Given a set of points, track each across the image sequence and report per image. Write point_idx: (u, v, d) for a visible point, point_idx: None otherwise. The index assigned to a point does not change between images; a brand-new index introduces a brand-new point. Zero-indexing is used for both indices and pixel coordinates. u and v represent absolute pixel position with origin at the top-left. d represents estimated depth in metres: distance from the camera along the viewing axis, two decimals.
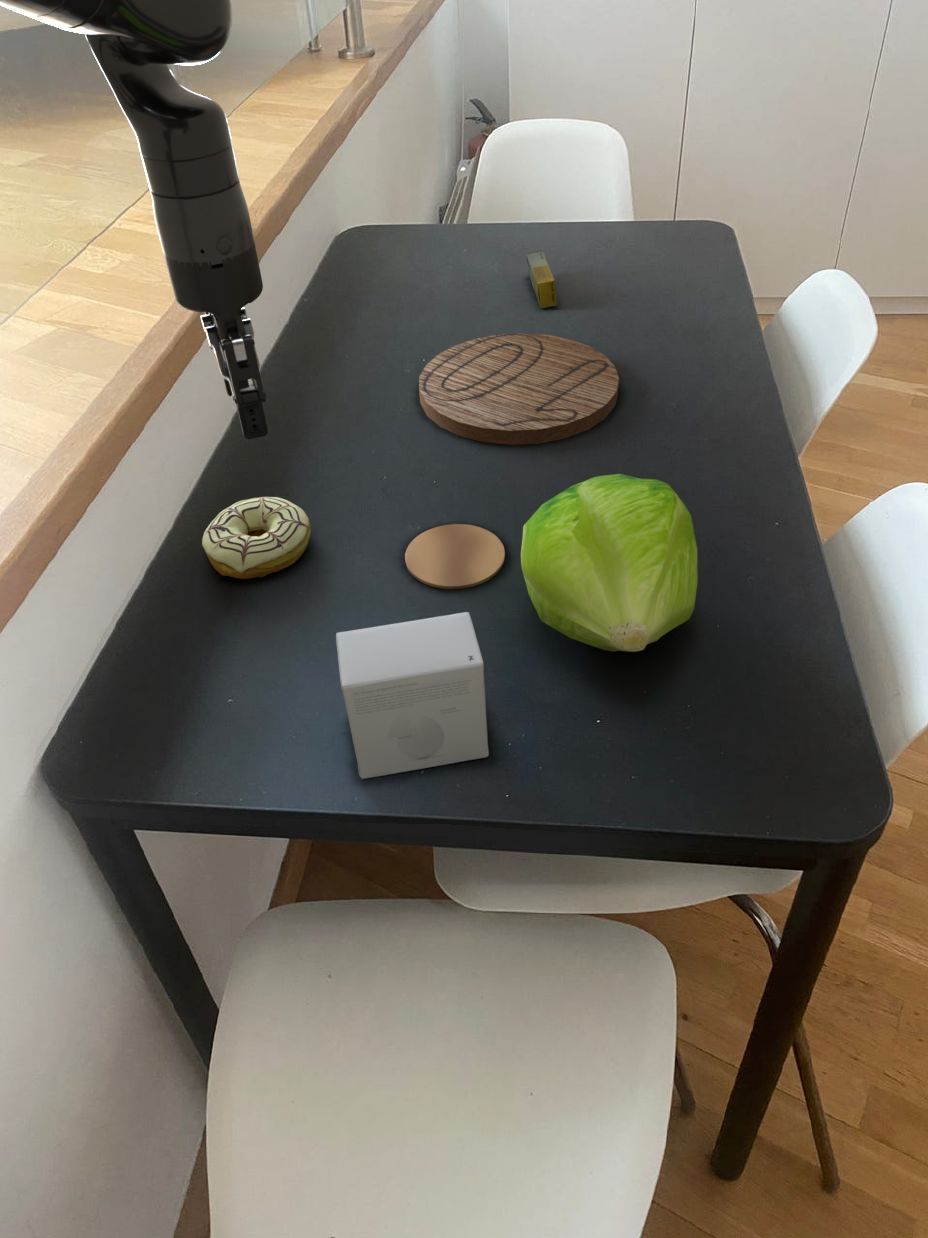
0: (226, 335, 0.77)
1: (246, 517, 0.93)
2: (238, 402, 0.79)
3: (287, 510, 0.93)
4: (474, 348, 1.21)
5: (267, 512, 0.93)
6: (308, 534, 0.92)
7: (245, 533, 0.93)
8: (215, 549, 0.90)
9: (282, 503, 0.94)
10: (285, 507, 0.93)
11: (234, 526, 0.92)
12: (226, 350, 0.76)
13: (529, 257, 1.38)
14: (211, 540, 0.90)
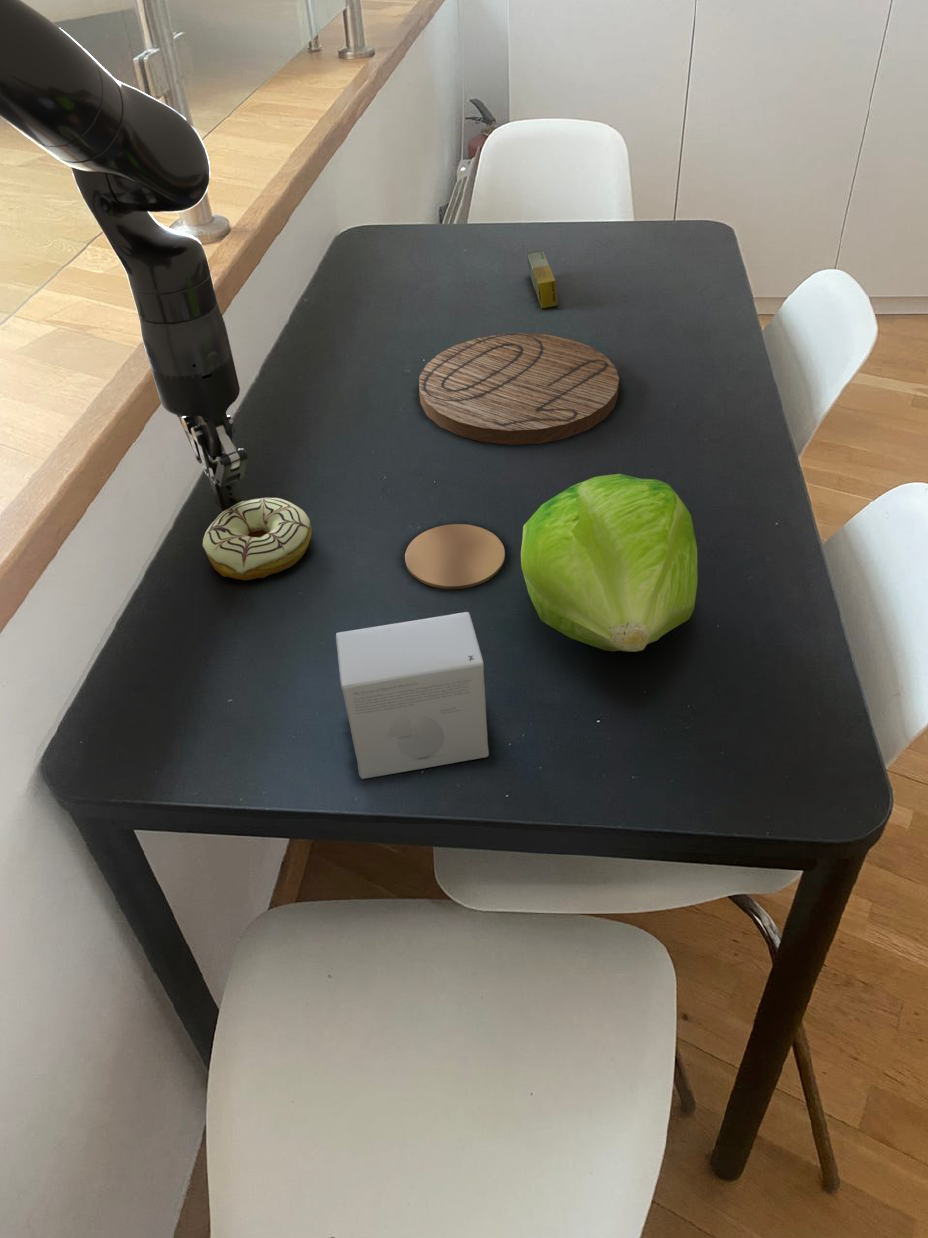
0: (218, 441, 0.87)
1: (246, 518, 0.93)
2: (221, 486, 0.92)
3: (288, 511, 0.93)
4: (474, 348, 1.21)
5: (267, 513, 0.93)
6: (309, 535, 0.92)
7: (246, 534, 0.92)
8: (216, 550, 0.89)
9: (283, 504, 0.94)
10: (286, 507, 0.93)
11: (235, 527, 0.92)
12: (225, 467, 0.87)
13: (530, 257, 1.38)
14: (212, 541, 0.90)
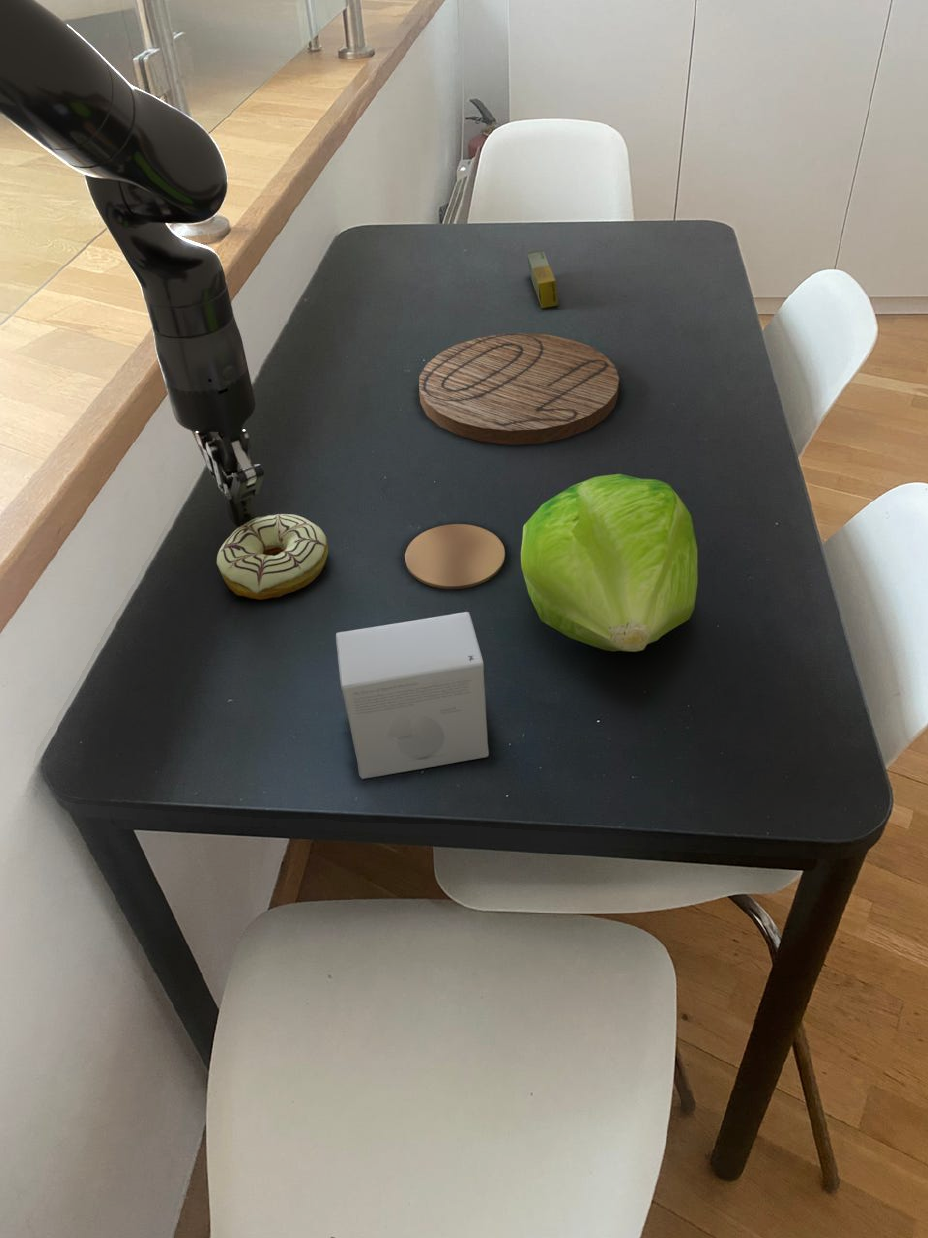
0: (233, 457, 0.85)
1: (261, 535, 0.91)
2: (236, 502, 0.89)
3: (304, 528, 0.90)
4: (474, 348, 1.21)
5: (283, 530, 0.91)
6: (325, 553, 0.90)
7: (261, 552, 0.90)
8: (230, 569, 0.87)
9: (299, 521, 0.92)
10: (302, 525, 0.91)
11: (249, 545, 0.90)
12: (241, 484, 0.85)
13: (530, 257, 1.38)
14: (226, 559, 0.88)
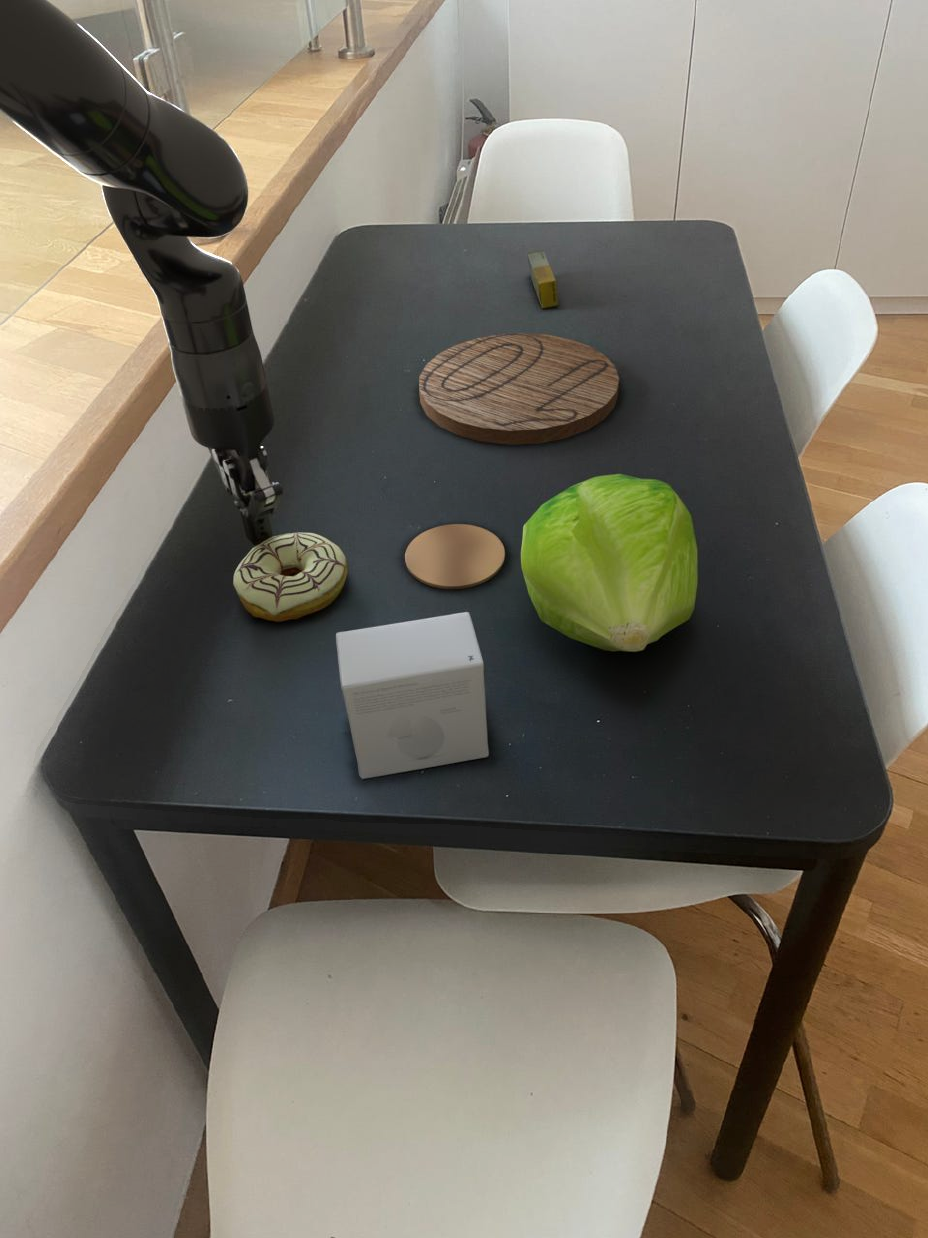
0: (252, 475, 0.83)
1: (279, 555, 0.88)
2: (254, 520, 0.87)
3: (323, 548, 0.88)
4: (474, 348, 1.21)
5: (301, 550, 0.88)
6: (345, 574, 0.87)
7: (278, 572, 0.88)
8: (247, 590, 0.85)
9: (317, 540, 0.89)
10: (321, 544, 0.89)
11: (267, 565, 0.87)
12: (259, 503, 0.82)
13: (530, 257, 1.38)
14: (243, 579, 0.86)
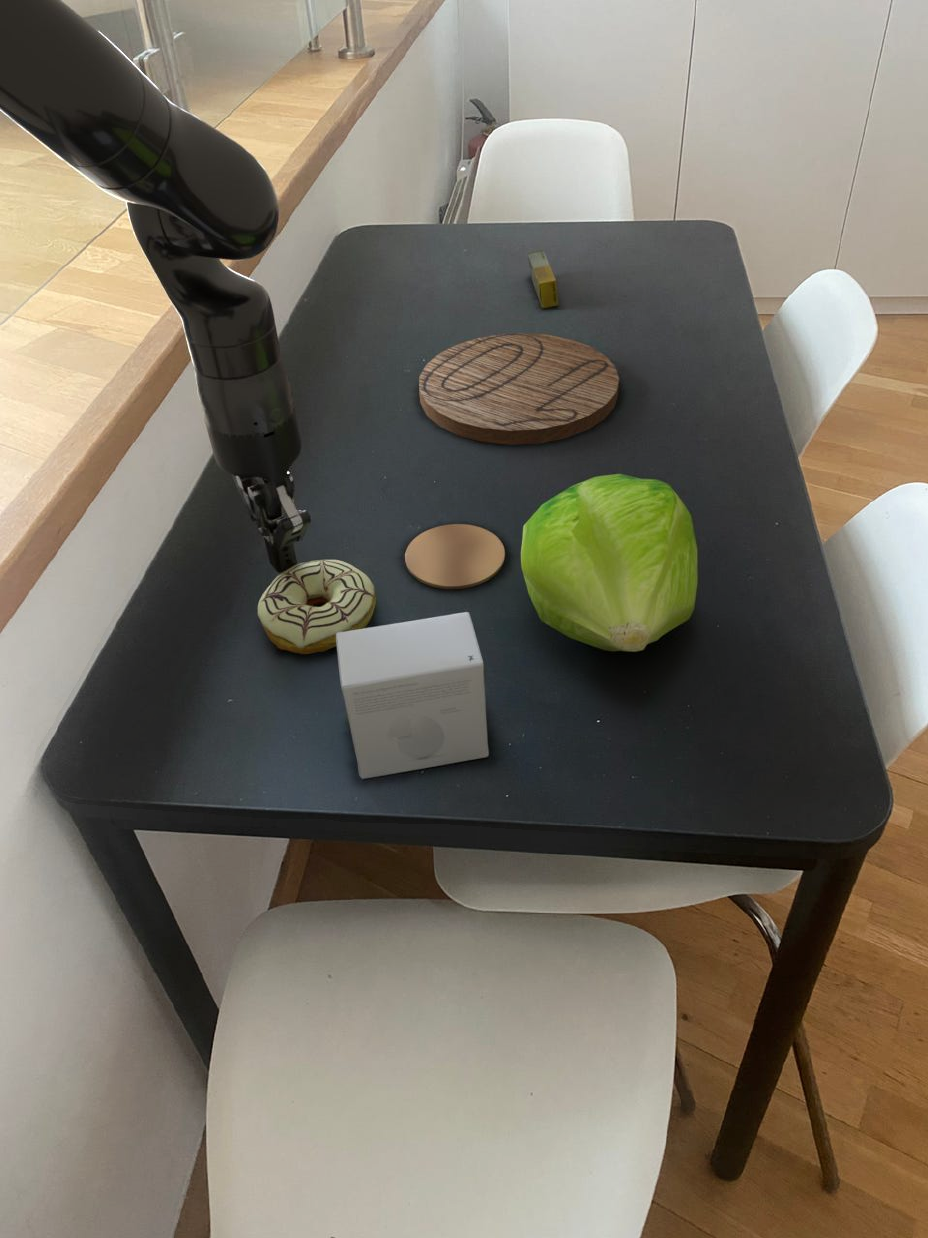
0: (278, 502, 0.79)
1: (305, 584, 0.85)
2: (279, 548, 0.83)
3: (351, 577, 0.85)
4: (474, 348, 1.21)
5: (328, 579, 0.85)
6: (374, 604, 0.84)
7: (304, 602, 0.84)
8: (273, 621, 0.81)
9: (344, 568, 0.86)
10: (348, 572, 0.85)
11: (293, 594, 0.84)
12: (287, 532, 0.79)
13: (530, 257, 1.38)
14: (269, 610, 0.82)
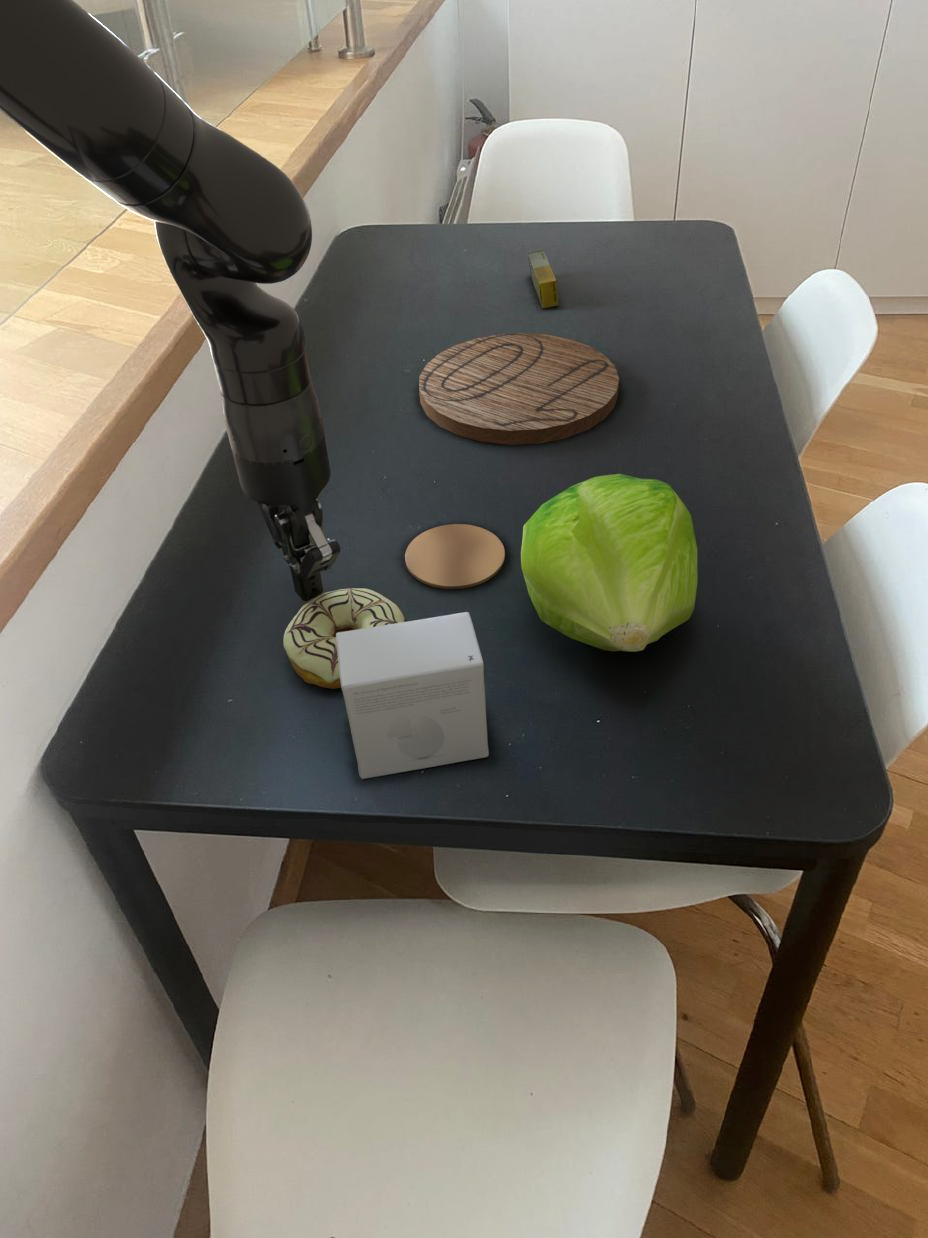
0: (307, 531, 0.76)
1: (333, 614, 0.82)
2: (306, 578, 0.80)
3: (380, 607, 0.81)
4: (474, 348, 1.21)
5: (357, 609, 0.82)
6: None
7: (332, 633, 0.81)
8: (300, 655, 0.78)
9: (373, 597, 0.83)
10: (378, 602, 0.82)
11: (320, 626, 0.81)
12: (315, 562, 0.76)
13: (531, 257, 1.38)
14: (295, 643, 0.79)
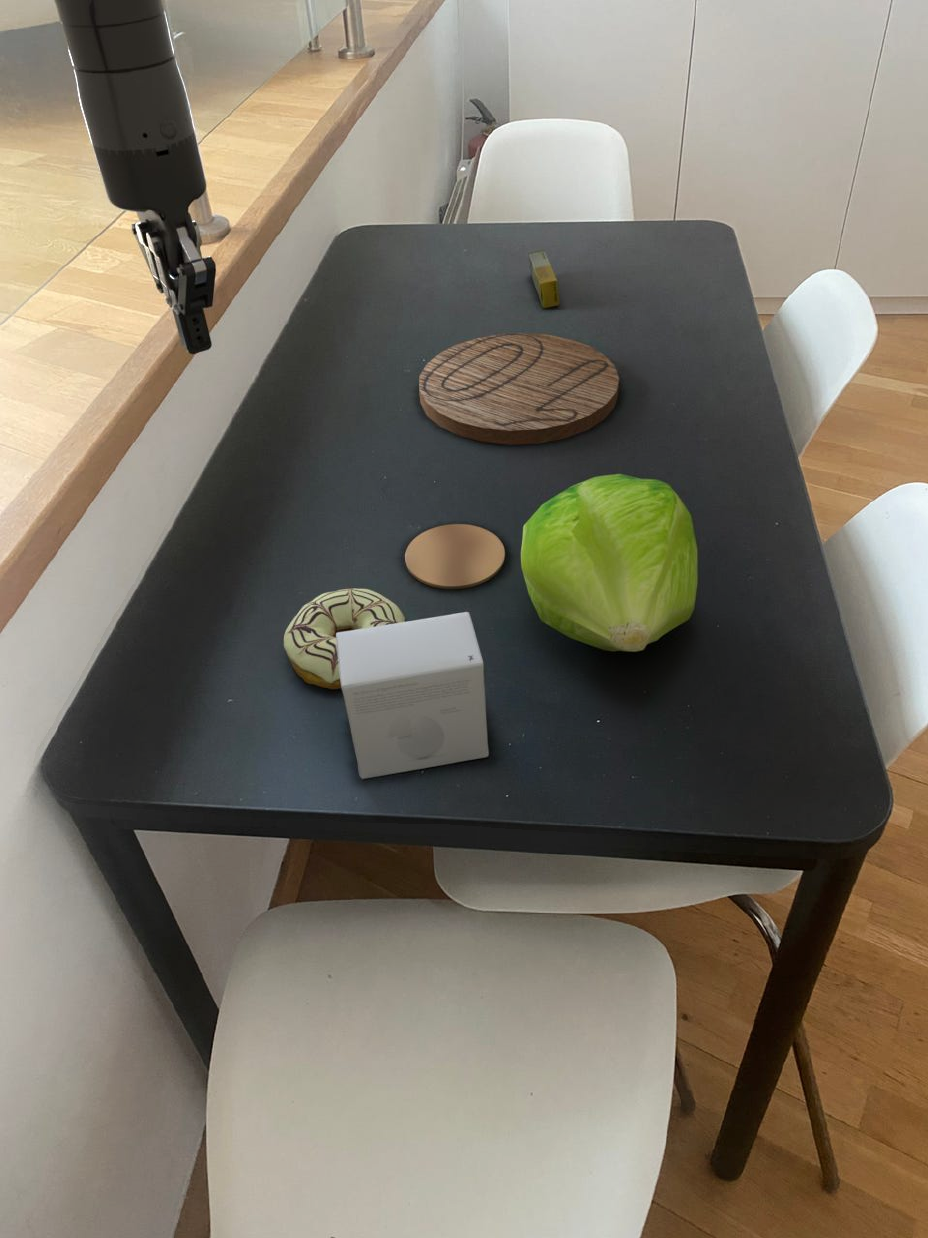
0: (179, 246, 0.70)
1: (333, 615, 0.82)
2: (185, 312, 0.74)
3: (381, 607, 0.81)
4: (474, 348, 1.21)
5: (357, 609, 0.82)
6: None
7: (332, 633, 0.81)
8: (301, 655, 0.78)
9: (374, 598, 0.83)
10: (378, 603, 0.82)
11: (320, 626, 0.80)
12: (188, 278, 0.70)
13: (531, 257, 1.38)
14: (296, 643, 0.79)
